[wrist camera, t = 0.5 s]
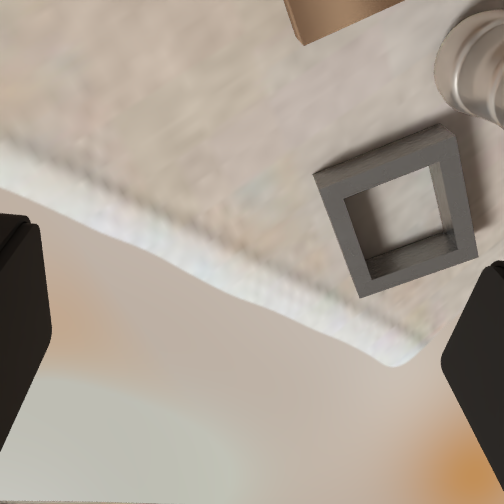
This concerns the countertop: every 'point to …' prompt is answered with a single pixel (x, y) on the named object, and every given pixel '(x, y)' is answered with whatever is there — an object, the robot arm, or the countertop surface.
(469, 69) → the plastic bottle
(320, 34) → the wooden block with hole
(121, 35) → the countertop surface
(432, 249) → the frame
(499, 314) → the robot arm
